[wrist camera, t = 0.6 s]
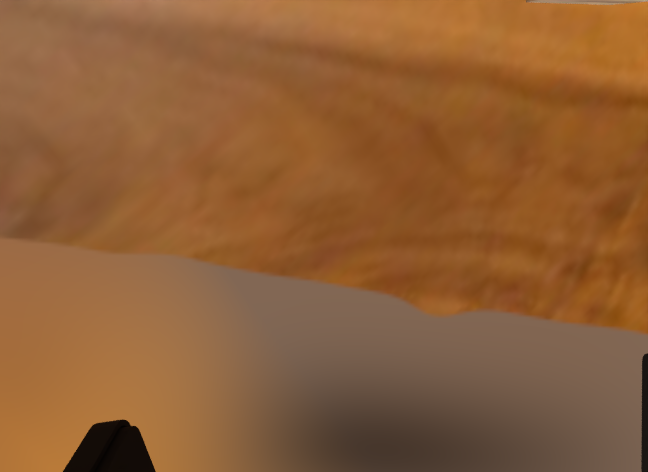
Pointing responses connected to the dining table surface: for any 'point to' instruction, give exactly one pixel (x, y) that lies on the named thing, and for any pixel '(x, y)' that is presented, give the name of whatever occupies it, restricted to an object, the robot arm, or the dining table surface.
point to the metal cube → (588, 1)
